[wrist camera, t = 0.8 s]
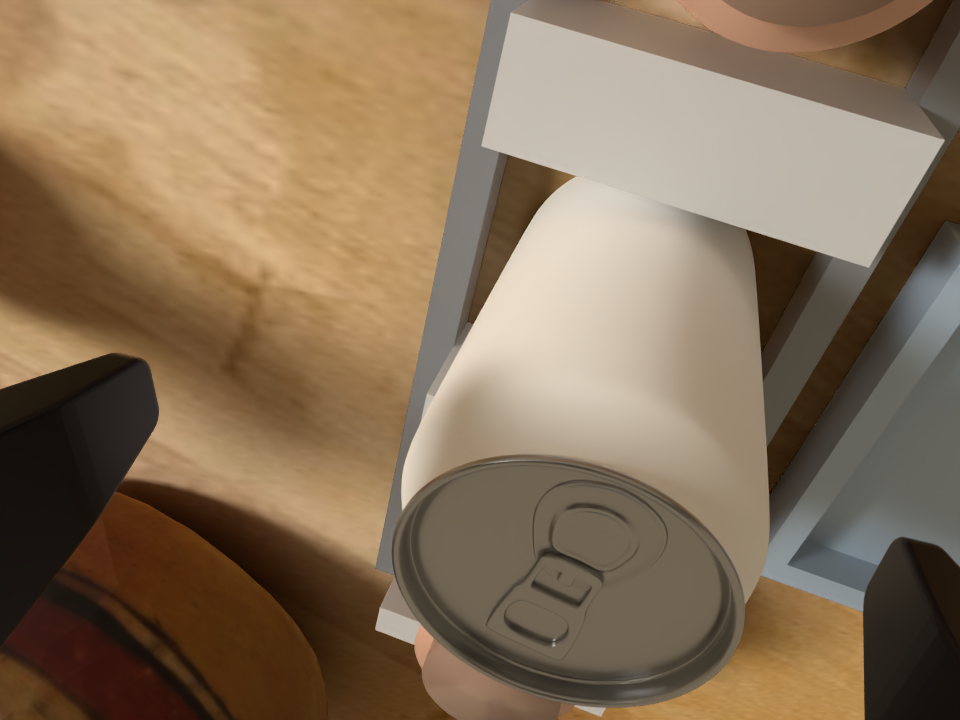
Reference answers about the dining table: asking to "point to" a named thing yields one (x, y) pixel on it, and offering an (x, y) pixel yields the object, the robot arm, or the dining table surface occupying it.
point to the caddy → (686, 168)
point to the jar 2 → (800, 21)
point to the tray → (880, 446)
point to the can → (596, 459)
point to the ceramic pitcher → (156, 634)
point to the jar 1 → (475, 688)
